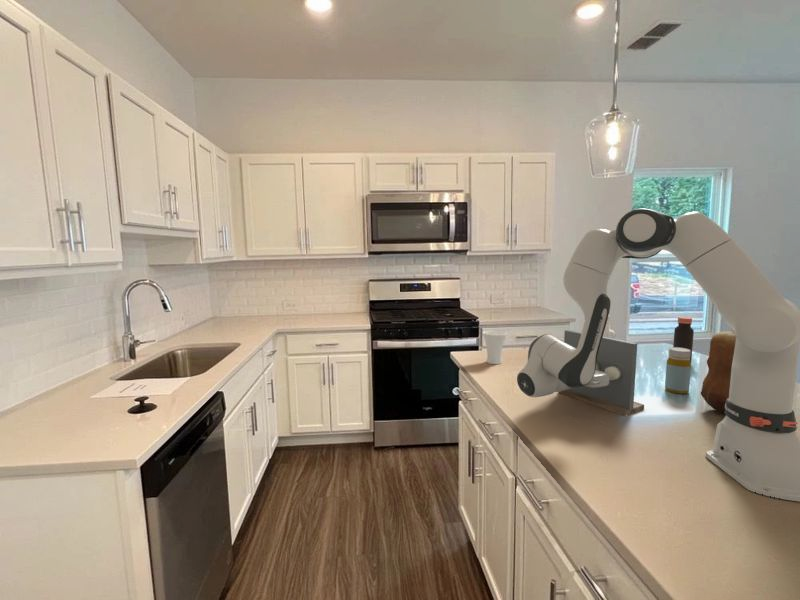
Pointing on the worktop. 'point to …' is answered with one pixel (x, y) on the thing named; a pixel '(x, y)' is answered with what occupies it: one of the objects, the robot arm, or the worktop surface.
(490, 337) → the cup
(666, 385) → the bottle
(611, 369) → the cream button
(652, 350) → the worktop surface
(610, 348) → the button panel
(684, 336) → the vinegar
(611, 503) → the worktop surface
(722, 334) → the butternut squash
